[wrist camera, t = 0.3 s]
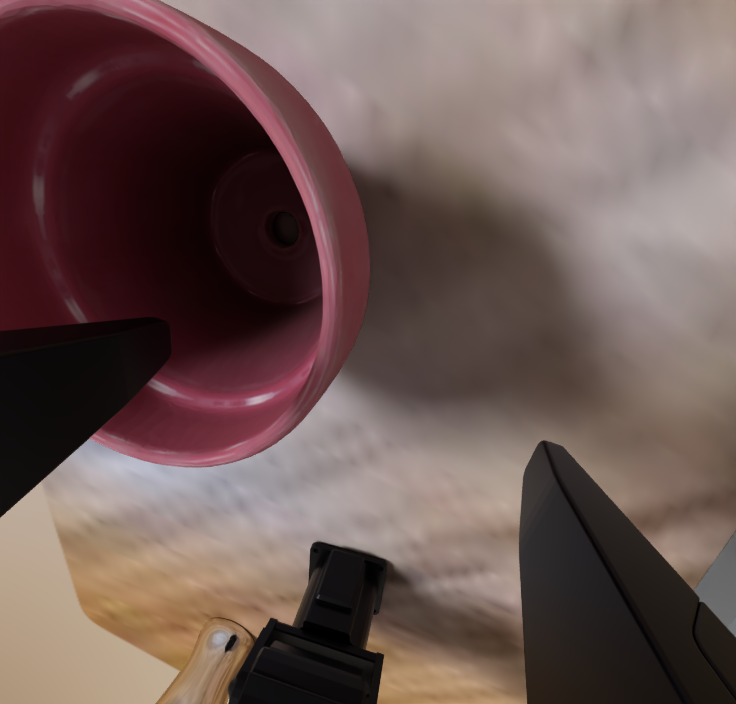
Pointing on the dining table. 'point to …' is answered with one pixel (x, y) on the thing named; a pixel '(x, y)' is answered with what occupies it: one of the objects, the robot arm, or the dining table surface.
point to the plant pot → (176, 219)
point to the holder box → (721, 586)
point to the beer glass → (210, 665)
